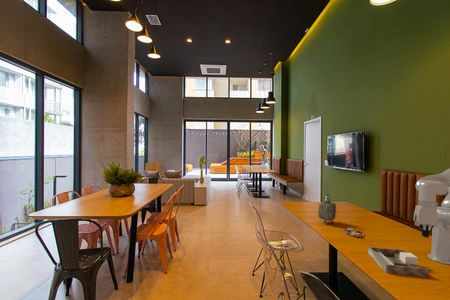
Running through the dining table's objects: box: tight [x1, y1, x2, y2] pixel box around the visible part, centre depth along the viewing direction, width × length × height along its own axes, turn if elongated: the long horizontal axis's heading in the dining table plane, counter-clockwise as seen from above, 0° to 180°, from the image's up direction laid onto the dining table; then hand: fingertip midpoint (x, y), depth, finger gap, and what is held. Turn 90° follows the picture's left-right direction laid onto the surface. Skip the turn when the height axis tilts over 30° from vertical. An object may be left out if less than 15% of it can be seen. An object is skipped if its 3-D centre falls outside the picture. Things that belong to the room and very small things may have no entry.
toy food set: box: [343, 227, 365, 238], centre depth 186 cm, size 13×13×3 cm
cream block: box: [399, 251, 419, 265], centre depth 138 cm, size 6×6×4 cm
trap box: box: [367, 246, 430, 278], centre depth 139 cm, size 20×24×4 cm
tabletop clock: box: [317, 194, 337, 226], centre depth 212 cm, size 14×9×25 cm, turn 131°
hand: (425, 236), depth 136 cm, fingers closed
